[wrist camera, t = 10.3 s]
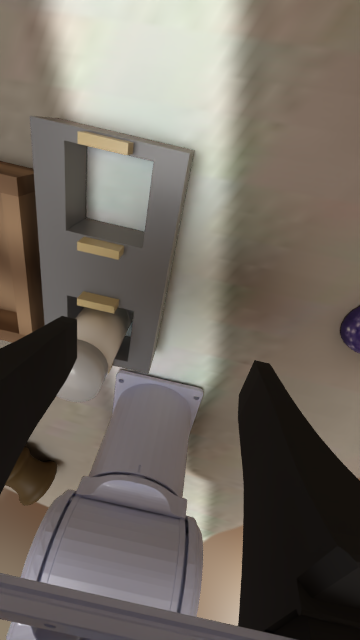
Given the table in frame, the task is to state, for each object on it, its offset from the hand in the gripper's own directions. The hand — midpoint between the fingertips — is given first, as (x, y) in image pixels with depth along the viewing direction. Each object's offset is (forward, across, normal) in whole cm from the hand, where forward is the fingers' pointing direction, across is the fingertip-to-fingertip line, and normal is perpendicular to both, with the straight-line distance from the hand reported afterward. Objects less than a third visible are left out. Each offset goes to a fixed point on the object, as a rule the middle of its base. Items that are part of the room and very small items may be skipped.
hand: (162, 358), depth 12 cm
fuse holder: (+10, +5, +1) cm, 12 cm away
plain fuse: (+10, +5, +5) cm, 13 cm away
